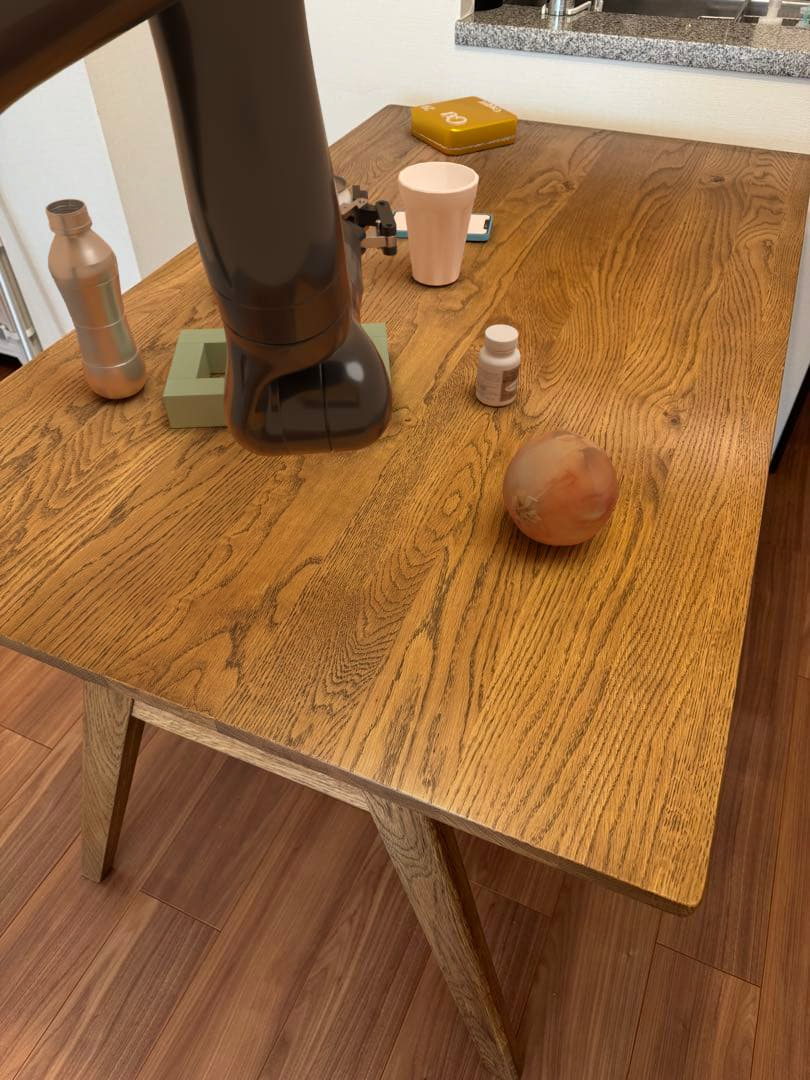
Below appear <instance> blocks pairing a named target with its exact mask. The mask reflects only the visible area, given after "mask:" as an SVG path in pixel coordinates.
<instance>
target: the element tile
mask: <svg viewBox="0 0 810 1080" xmlns="http://www.w3.org/2000/svg"><path fill="white" fill-rule="evenodd" d="M410 118H411V119H410V132H411V135H412V136H413V137H415V138H417V139H419V140H421V141H422V142H423V143H425V144H427V145H429V146H431V147H432V148H434V149H436V150H438V151H439V152H441V153H442V154H445V155H446V156H455V157H456V156H463V155H466V154H471V153H478V152H481V151H486V150H490V149H495V148H500V147H504V146H509V145H512V144H514V143H515V142H516V139H517V136H516V137H515V138H513V139H509V140H505V141H500V142H495V143H491V144H486V145H481V146H477V147H472V148H467V149H462V150H447V149H444V148H442V147H441V146H439V145H437V144H435V143H434V142H432V141H430V140H428V139H427V138H429V139H431V140H433V141H435V142H437V143H439V144H441V145H442V146H444V147H447V148H453V149H454V148H462V147H467V146H471V145H477V144H481V143H485V142H489V141H493V140H497V139H501V138H504V137H508V136H512V135H515V134H516V135H517V130H518V120H519V117H518V116H517V115H516V114H514V113H513V112H511V111H508V110H506V109H504V108H502V107H500V106H498V105H496V104H493V103H492V102H489V101H487V100H485V99H483V98H481V97H478V96H475V95H471V96H465V97H461V98H455V99H448V100H444V101H439V102H433V103H427V104H423V105H417V106H413V107H412V108H411V111H410ZM411 128H412V129H411ZM413 130H414V131H416V132H417V133H416V132H414V131H413ZM418 133H419V134H418ZM420 134H422V135H424V136H425V137H427V138H425V137H423V136H421V135H420Z"/></svg>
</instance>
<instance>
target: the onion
mask: <svg viewBox="0 0 810 1080" xmlns="http://www.w3.org/2000/svg"><path fill="white" fill-rule="evenodd" d="M618 482H619V481H618V477H617V473H616V469H615V467H614V464H613V462H612V460H611V459H610V456H609V455H608V453H607V452H606V450H604V448H603V447H601V446H600V445H599V444H597V442H595V441H593V440H592V439H591V438H589V437H587V436H585V435H583V434H580V433H578V432H575V431H573V430H571V429H565V428H555V429H552V430H549V431H545V432H544V433H541V434H539V435H537V436H534V437H532V438H530V439H529V440H527V441H526V442H524V444H522V445H521V446H520V447H519V449H518V450H517V451H516V452H515V453H514V454H513V456H512V457H511V459H510V461H509V462H508V465H507V467H506V469H505V473H504V475H503V480H502V499H503V502H504V505H505V507H506V510H507V511H508V513H509V515H510V517H511V519H512V521H513V522H514V524H515V526H517V527H518V529H519V530H520V531H521V532H522V533H523V534H524V535H526V536H527V537H529V538H530V539H531V540H533V541H535V542H538V543H541V544H544V545H549V546H553V547H560V546H565V547H567V546H568V547H569V546H573V545H578V544H582V543H584V542H587V541H589V540H590V539H592V538H593V537H594V536H596V535H597V534H599V532H600V531H601V530H602V529H603V527H604V526H605V525H606V524H607V522H609V519H610V518H611V516H612V514H613V512H614V510H615V507H616V504H617V501H618V498H619V483H618Z"/></svg>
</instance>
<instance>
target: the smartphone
mask: <svg viewBox="0 0 810 1080" xmlns="http://www.w3.org/2000/svg"><path fill="white" fill-rule="evenodd" d="M392 213H393V216H394V219H395V222H396V225H397V238H407V239H408V233H407V225H406V217H405V210H404V209H403V210H399V209H398V210H395V211H392ZM493 217H494V216H493V215H492V214H490V213H475V212H472V213H471V218H470V223H469V227H468V232H467V237H466V241H476V242H477V241H479V242H485V241H488V240H489V239H490V235H491V230H492V225H493Z"/></svg>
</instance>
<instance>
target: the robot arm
mask: <svg viewBox="0 0 810 1080" xmlns="http://www.w3.org/2000/svg"><path fill="white" fill-rule="evenodd" d="M146 21H147V24H148V27H149V31H150V36H151V38H152V42H153V46H154V50H155V53H156V58H157V62H158V67H159V71H160V76H161V80H162V84H163V89H164V93H165V98H166V103H167V109H168V113H169V114H168V115H169V118H170V123H171V129H172V134H173V140H174V144H175V150H176V155H177V161H178V166H179V171H180V176H181V180H182V186H183V190H184V194H185V195H184V196H185V199H186V205H187V210H188V214H189V219H190V224H191V227H192V230H193V235H194V238H195V243H196V246H197V250H198V253H199V257H200V260H201V264H202V266H203V269H204V272H205V275H206V278H207V280H208V284H209V286H210V289H211V292H212V295H213V298H214V301H215V305H216V307H217V309H218V312H219V316H220V319H221V322H222V327H223V328H224V332H225V338H226V346H227V362H226V370H225V373H224V378H225V379H224V391H223V407H224V416H225V421H226V424H227V426H226V427H227V429H228V431H229V434H230V435H231V437H232V439H233V440H234V441H235V442H236V443H237V444H238V445H239V446H240V447H242V448H243V449H244V450H246V451H248V452H249V453H252V454H253V455H256V456H260V457H266V458H267V457H271V458H272V457H275V458H277V457H288V456H290V457H291V456H300V455H313V454H314V455H315V454H327V453H328V454H329V453H330V454H331V453H333V452H334V453H343V452H345V453H346V452H354V451H359V450H364V449H366V448H368V447H371V446H372V445H374V444H375V443H376V442H377V441H378V440H379V439H380V438H381V437H382V436H383V434H384V433H385V432H386V431H387V428H388V426H389V423H390V422H391V420H392V419H391V414H392V415H393V405H394V404H393V403H394V402H393V401H394V399H393V389H391V388H392V382H391V383H390V379H389V376H388V373H387V370H386V367H385V365H384V362H383V360H382V358H381V356H380V354H379V352H378V350H377V348H376V346H375V345H374V343H373V342H372V340H371V339H370V337H369V336H368V334H367V333H366V332H365V330H364V329H363V328H362V326H361V323H362V322H361V321H362V320H361V307H362V302H363V295H364V283H363V265H362V257H363V256H364V254H366V252H367V249H374V248H375V249H377V250H381V251H382V255H384V256H387V257H393V256H396V255H397V254H398V237H397V225H396V222H395V219H394V216H393V211H392V208H391V205H390V202H389V201H388V200H383V199H381V200H377V201H375V203H374V204H371V203H370V202H369V192H368V191H367V190H365V189H362V190H361V186H360V185H359V184H353V185H352V186H351V187H352V188H351V189H352V199H353V202H352V203H351V204H349V203H343V204H341V205H339V199H338V194H337V188H336V183H335V178H334V174H335V173H334V168H333V167H334V166H333V163H332V157H331V153H330V147H329V142H328V136H327V131H326V126H325V121H324V116H323V115H324V114H323V111H322V105H321V104H322V103H321V98H320V94H319V89H318V83H317V77H316V72H315V66H314V59H313V53H312V47H311V42H310V35H309V34H310V33H309V28H308V27H309V26H308V19H307V11H306V4H305V0H0V117H1V116H2V115H3V114H4V113H5V112H6V111H8V110H9V109H10V108H11V107H12V106H13V105H15V104H16V103H17V102H19V101H20V100H22V99H23V98H25V97H26V96H27V95H28V94H30V93H31V92H32V91H34V90H36V89H37V88H38V87H40V86H41V85H43V84H44V83H46V82H48V81H49V80H51V79H52V78H54V77H55V76H57V75H59V74H60V73H62V72H63V71H65V70H66V69H68V68H69V67H71V66H74V65H75V64H76V63H78V62H80V61H81V60H82V59H85V58H86V57H88V56H89V55H91V54H92V53H93V54H94V52H96V51H98V50H100V49H101V48H103V47H104V46H106V45H107V44H109V43H111V42H113V41H114V40H115V39H117V38H119V37H121V36H122V35H124V34H125V33H127V32H129V31H131V30H132V29H134V28H136V27H137V26H139V25H141V24H143V23H144V22H146ZM370 227H372V228H371V230H370V231H368V230H369V229H370ZM367 231H368V232H367Z"/></svg>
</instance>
